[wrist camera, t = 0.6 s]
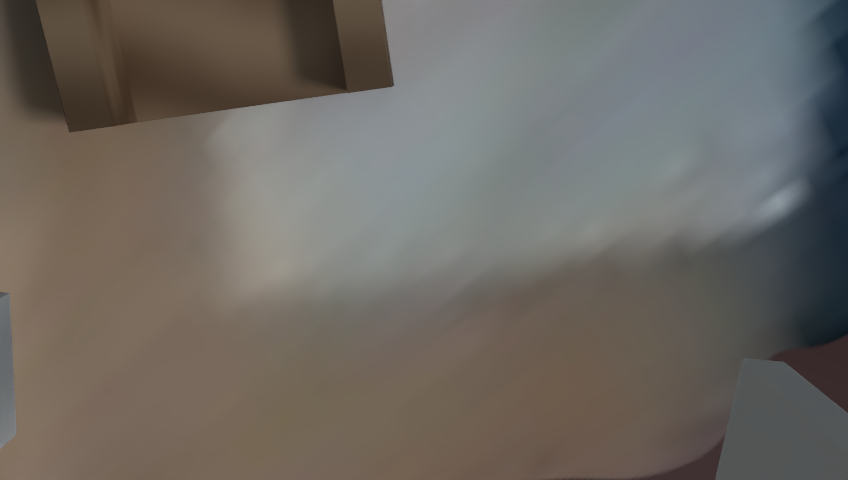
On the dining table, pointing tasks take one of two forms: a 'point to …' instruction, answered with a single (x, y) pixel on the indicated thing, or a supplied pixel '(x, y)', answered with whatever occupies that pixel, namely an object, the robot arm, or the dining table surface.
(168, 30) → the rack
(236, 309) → the dining table surface
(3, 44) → the dining table surface
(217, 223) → the dining table surface
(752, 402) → the robot arm
